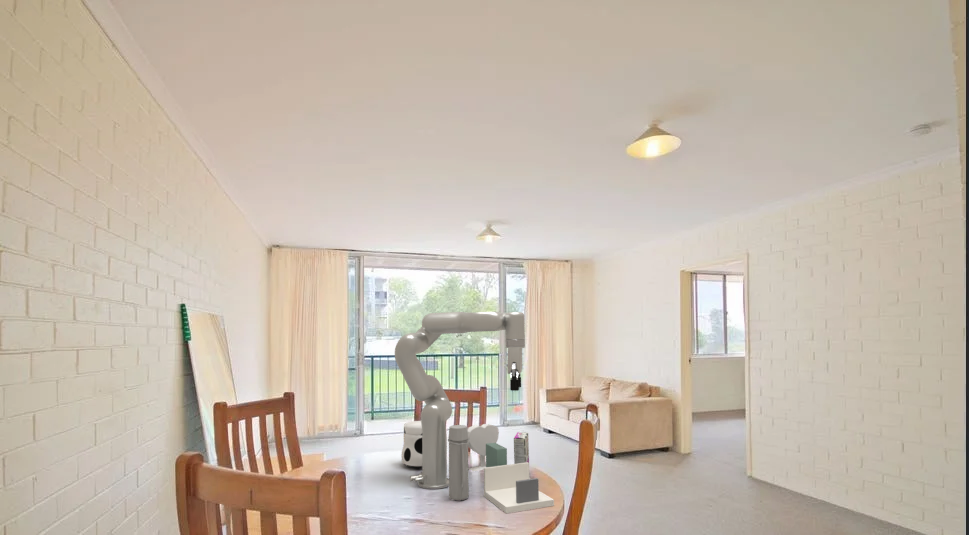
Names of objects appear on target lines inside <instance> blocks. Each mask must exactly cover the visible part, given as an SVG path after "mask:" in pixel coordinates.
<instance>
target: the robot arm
mask: <svg viewBox="0 0 969 535" xmlns="http://www.w3.org/2000/svg"><path fill="white" fill-rule="evenodd" d="M525 327H526V326H525V314H524V313H523V312H521V311H509V312H500V311H477V312H476V311H475V312H474V311H473V312H466V311H448V312H446V311H445V312H431V313H430V312H429V313H427V314H426V315H424V316H423V318H422V321H421V327H420V328H419V329H418V330H417V331H416V332H409V333H405V334H404V335H403V336H401V337H400V338H399V339H398V340H397V343H396V345H395V348H394V360H395V362H396V364H397V367H398V368H399V370H400V373H401V374H402V376H403V379H404V381H405V383H406V384H407V386H408V387H407V388H408V389H409V391H410V393H411V395H412V397H413V398H414V399H415V400H416V401H419V402H423V401H424V403H425V406H423V408H422V409H421V412H420V413H421V415H420V421H421V424H422V468H421V469H422V471H420V473H419V474H417V475H410V476H409V480H410V482H415V483H417V484H418V486H419V487H420V488H423V489H427V490H437V489H443V488H447V487H449V477H448V475H447V473H448V472H447V470H448V468H447V467H448V465H447V464H448V460H447V459H448V456H447V453H448V450H447V449H448V448H447V447H448V446H447V445H448V439H447V438H448V437H447V436H448V435H447V426H446V422H447V421H448V420H450V418H451V416H452V413H453V406H452V403H451V402H450V398H449V397H448V395H447V393H446V392H445V389H444V388H443V386H442V384H441V382H440V381H439V380H438V378H437V377H435V376H434V375H431V374H427V372H426V371H425V369H424V366H423V365H422V363H421V362H420V360H419V359H418V357H417V354H421V353H424V352H426V351H427V350H428V349H430V347H431V346H433V344H434V343H435V342H436V341H437V340H438V339H439V338H440V337H441V335H443V334H446V335H447V334H448V335H449V334H466V333H475V332H480V333H481V332H499V331H505V348H506V349H507V369H506V370H507V374H508V375H509V374H510V382H509V383H510V387H509V390H510V391H511V392H513V391H515V392H516V391H519V390H520V388H522V376H521V373H522V371H523V348H524V349H525V348H526V334H525V332H526V330H525V329H526V328H525Z"/></svg>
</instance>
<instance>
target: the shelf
mask: <svg viewBox="0 0 969 535" xmlns="http://www.w3.org/2000/svg"><path fill="white" fill-rule="evenodd" d="M539 487H540V486H539V478H538V477H535V478H531V477H530V462H529V463H528V462H526V463H518V464H514V463H512V464H511V463H510V464H507V465H502V466H494V467H486V468H484V470H483V497H484V498H485V497H486V500H488V501H489V500H490V501H489V502H491V503H492V504H493V505H495V506H496V507H497V508H498V509H500V511H502V510H503V512H504V514H506V513H507V514H512V512H513V513H518V512H524V511H530V509H531V510H536V508H537V509H541V508H542V509H543V508H549V507H555V500H554V499H553V498H552V497H550V496H548V495H547V494H545V493H544V492H542V491H540V489H539Z"/></svg>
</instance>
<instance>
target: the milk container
mask: <svg viewBox="0 0 969 535" xmlns="http://www.w3.org/2000/svg"><path fill="white" fill-rule="evenodd" d="M402 446H403V447H402V450H401V462H402V464H403V466H406V467H408V468H413V469H422V424H421V420H413V421H408V422H406V423H404V425H403V445H402Z"/></svg>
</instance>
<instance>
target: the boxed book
mask: <svg viewBox="0 0 969 535" xmlns="http://www.w3.org/2000/svg"><path fill="white" fill-rule="evenodd" d="M485 465H486V467H494V466H502V465H508V449H507V447H504V446H502V445H501V444H499V443H497V442H496V443H487V444H486V456H485Z"/></svg>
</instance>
